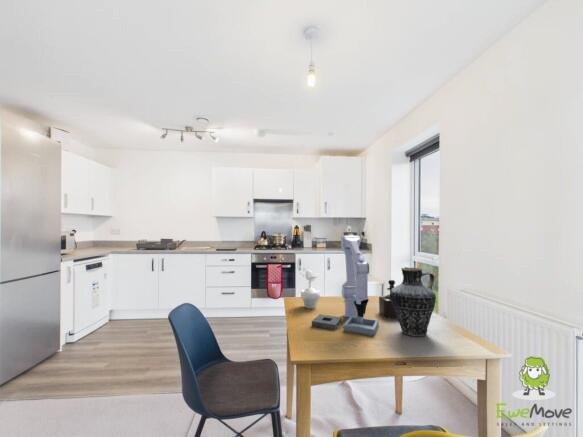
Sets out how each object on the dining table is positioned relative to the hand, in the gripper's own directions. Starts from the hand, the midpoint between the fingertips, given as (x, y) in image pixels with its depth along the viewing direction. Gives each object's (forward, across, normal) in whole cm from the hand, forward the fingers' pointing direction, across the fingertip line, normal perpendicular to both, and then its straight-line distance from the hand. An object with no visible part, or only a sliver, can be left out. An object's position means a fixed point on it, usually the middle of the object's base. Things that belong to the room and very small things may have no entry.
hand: (361, 315), depth 141 cm
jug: (+7, -5, +23) cm, 24 cm away
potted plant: (+7, -23, -35) cm, 42 cm away
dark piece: (+7, -30, +10) cm, 32 cm away
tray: (+6, 0, 0) cm, 6 cm away
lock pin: (+3, 0, -1) cm, 4 cm away
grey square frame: (+6, +1, -17) cm, 18 cm away
